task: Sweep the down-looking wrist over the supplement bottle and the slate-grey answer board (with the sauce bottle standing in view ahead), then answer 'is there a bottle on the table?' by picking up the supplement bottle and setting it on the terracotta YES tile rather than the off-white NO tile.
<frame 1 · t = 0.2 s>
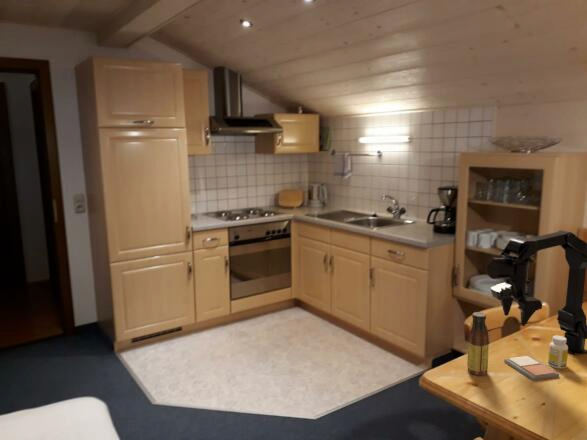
hand: (514, 320, 159), 14 cm above the table, fingers open, 9 cm apart
supplement bottle: (556, 365, 157), on the table
answer board: (530, 369, 154), on the table
sauce bottle: (476, 372, 152), on the table
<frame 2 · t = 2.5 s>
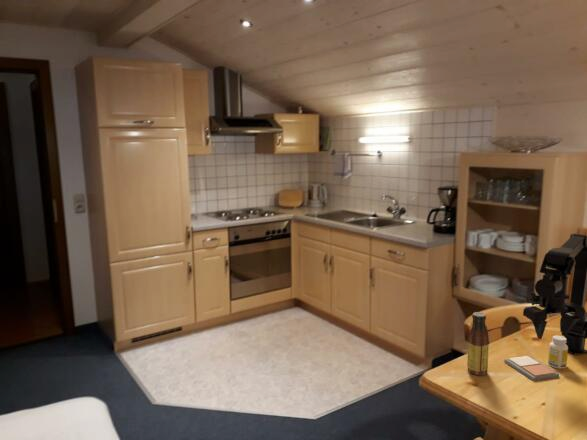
hand: (551, 337, 149), 12 cm above the table, fingers open, 9 cm apart
nothing on the table moved.
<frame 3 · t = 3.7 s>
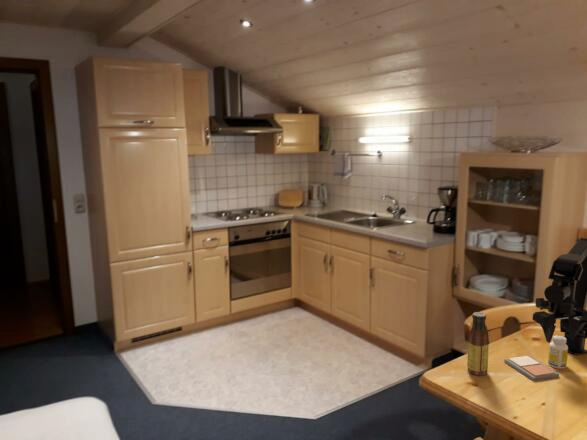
hand: (559, 340, 156), 9 cm above the table, fingers open, 9 cm apart
nothing on the table moved.
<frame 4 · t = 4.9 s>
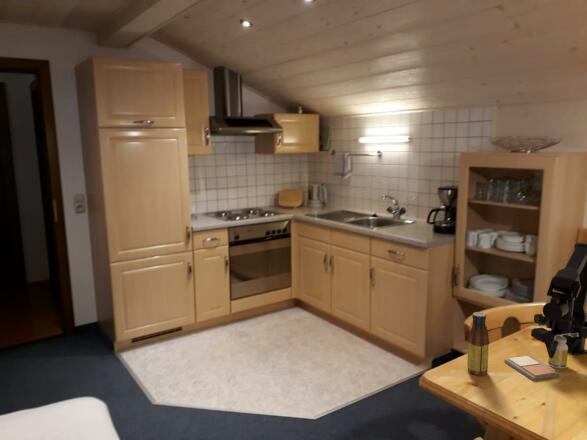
hand: (557, 356, 157), 3 cm above the table, fingers closed on supplement bottle, 5 cm apart
supplement bottle: (556, 365, 157), on the table, touching gripper
everything else where it was.
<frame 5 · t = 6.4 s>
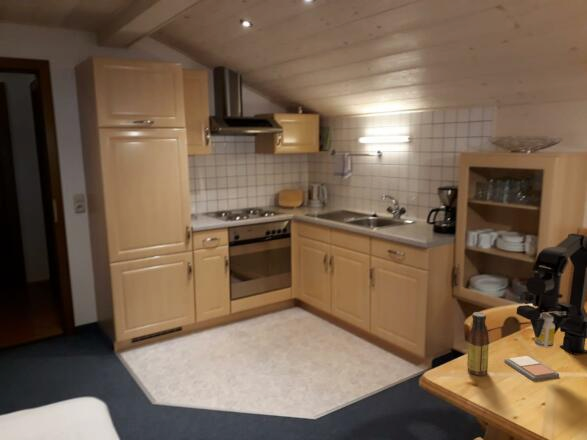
hand: (544, 336, 150), 13 cm above the table, fingers closed on supplement bottle, 5 cm apart
supplement bottle: (543, 345, 151), point 9 cm above the table, touching gripper
everything else where it was.
when the fingers open (5 cm above the table, at t = 8.2 s): supplement bottle stays where it is, resting on answer board.
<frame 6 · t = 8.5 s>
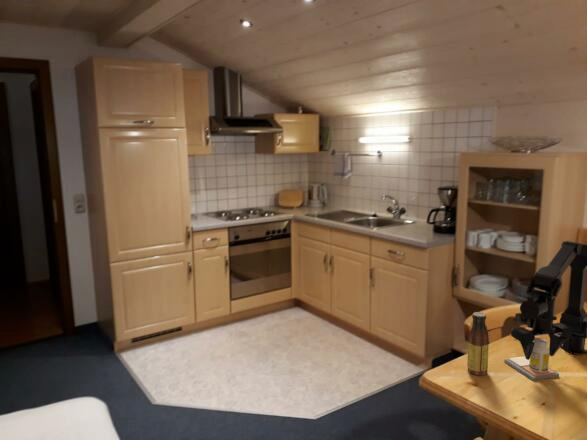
hand: (539, 357, 151), 5 cm above the table, fingers open, 9 cm apart
supplement bottle: (538, 369, 151), point 1 cm above the table, touching answer board
everything else where it was.
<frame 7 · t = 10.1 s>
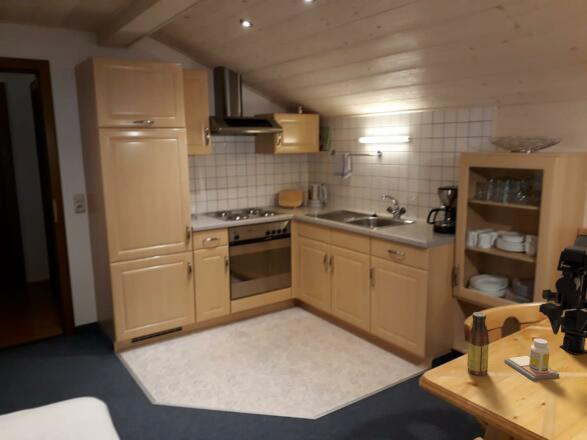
hand: (566, 332, 153), 12 cm above the table, fingers open, 9 cm apart
nothing on the table moved.
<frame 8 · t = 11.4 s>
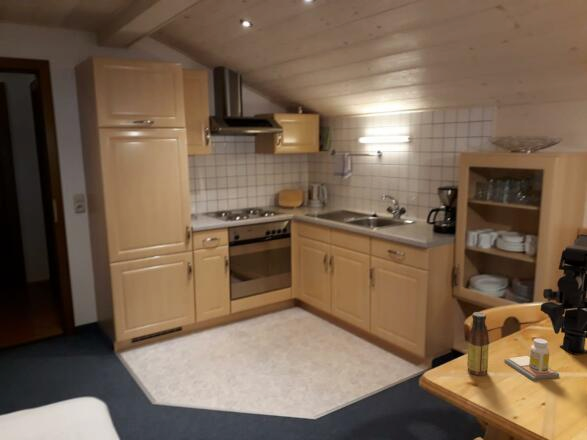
hand: (567, 332, 153), 13 cm above the table, fingers open, 9 cm apart
nothing on the table moved.
at the end: supplement bottle inside the target area on the answer board (0.5 cm from its centre), point 1.2 cm above the answer board's base; supplement bottle tilted 0°; the gripper is holding nothing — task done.
